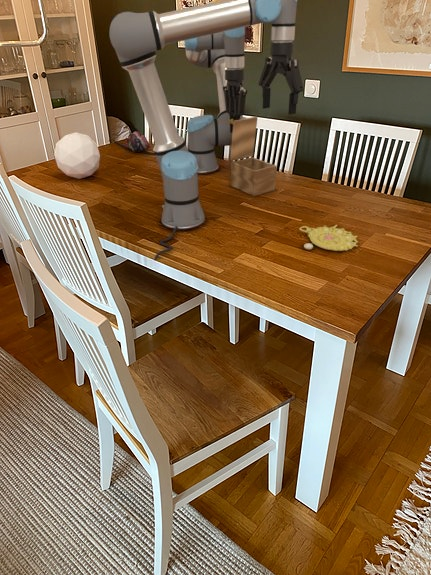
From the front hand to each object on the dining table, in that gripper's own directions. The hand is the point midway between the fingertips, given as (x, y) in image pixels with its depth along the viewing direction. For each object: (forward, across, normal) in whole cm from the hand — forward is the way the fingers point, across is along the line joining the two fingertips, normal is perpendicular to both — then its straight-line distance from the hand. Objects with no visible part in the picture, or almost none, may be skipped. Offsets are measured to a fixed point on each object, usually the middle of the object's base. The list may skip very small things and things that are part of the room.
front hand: (278, 111), depth 155 cm
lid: (+14, +21, -1) cm, 25 cm away
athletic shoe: (+33, +98, +11) cm, 104 cm away
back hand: (+12, +27, -1) cm, 30 cm away
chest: (+32, +15, -1) cm, 36 cm away
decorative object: (+32, -37, +9) cm, 50 cm away
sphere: (+33, +75, +50) cm, 96 cm away
